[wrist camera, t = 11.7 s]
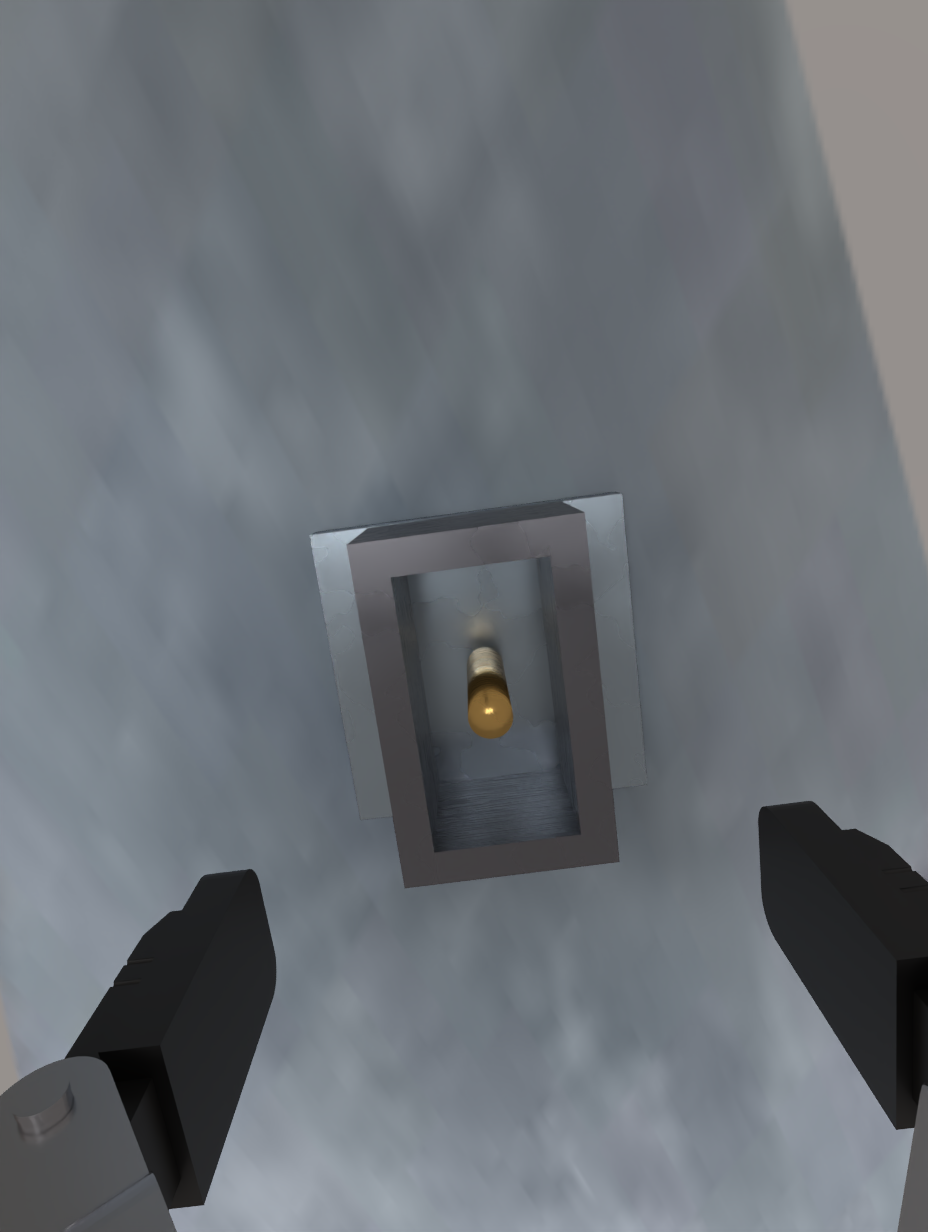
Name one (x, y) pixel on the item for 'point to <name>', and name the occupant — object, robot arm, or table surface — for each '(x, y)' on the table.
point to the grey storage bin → (421, 807)
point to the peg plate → (487, 660)
